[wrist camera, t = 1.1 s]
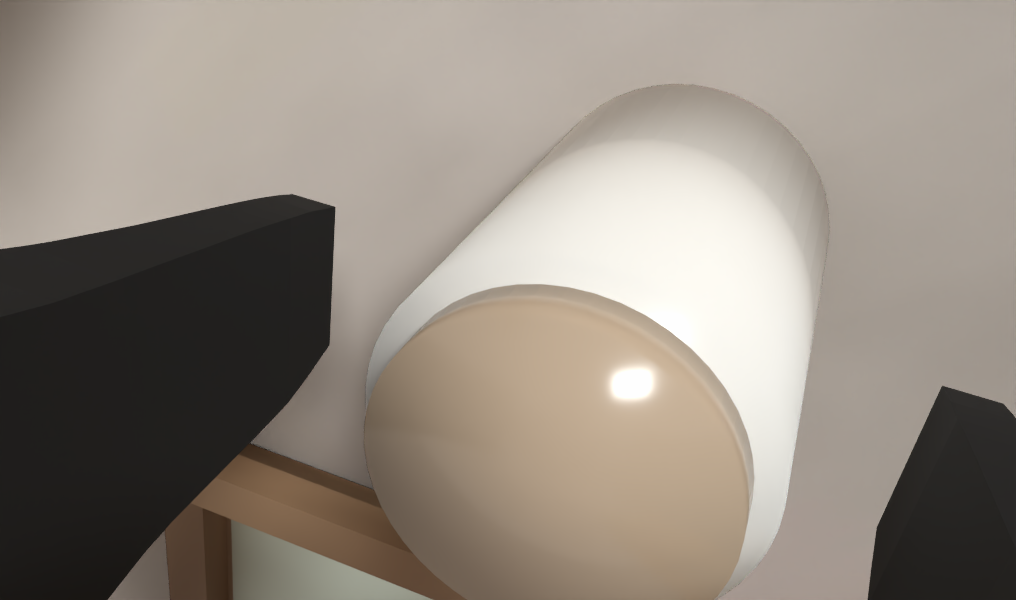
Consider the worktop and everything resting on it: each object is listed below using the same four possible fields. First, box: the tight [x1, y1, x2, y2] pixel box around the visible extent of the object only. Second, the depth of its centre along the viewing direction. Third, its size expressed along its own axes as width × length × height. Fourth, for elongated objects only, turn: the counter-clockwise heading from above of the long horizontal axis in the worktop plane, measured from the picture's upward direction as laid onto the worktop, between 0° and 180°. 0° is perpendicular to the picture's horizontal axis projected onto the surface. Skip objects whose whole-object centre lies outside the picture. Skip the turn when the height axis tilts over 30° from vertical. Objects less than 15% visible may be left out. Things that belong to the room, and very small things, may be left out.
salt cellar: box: [364, 84, 830, 600], centre depth 12 cm, size 4×4×7 cm
